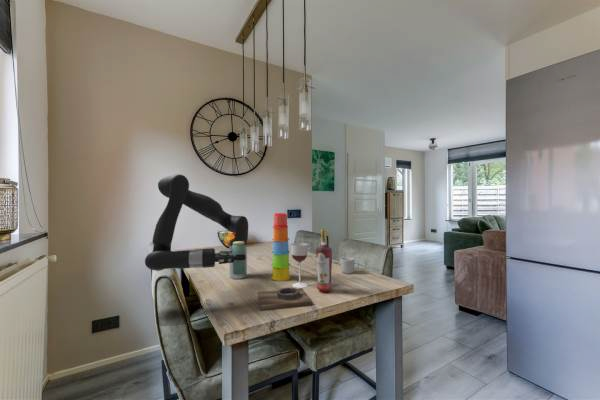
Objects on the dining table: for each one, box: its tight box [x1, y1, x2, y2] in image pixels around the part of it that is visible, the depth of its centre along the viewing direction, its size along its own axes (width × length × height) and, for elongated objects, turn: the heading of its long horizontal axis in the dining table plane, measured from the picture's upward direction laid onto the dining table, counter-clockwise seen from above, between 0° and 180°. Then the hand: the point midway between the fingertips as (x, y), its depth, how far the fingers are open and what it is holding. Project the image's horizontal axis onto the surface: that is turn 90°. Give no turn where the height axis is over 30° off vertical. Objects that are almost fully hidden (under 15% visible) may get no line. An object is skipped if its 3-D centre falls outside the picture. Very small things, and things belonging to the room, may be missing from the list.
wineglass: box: [290, 242, 309, 289], centre depth 130 cm, size 8×9×20 cm
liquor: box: [315, 228, 333, 294], centre depth 122 cm, size 7×7×28 cm
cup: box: [339, 256, 360, 275], centre depth 150 cm, size 11×8×8 cm
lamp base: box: [257, 287, 313, 311], centre depth 111 cm, size 16×20×4 cm
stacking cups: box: [270, 212, 291, 282], centre depth 142 cm, size 10×10×35 cm
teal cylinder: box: [232, 241, 245, 275], centre depth 111 cm, size 5×5×13 cm
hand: (245, 255), depth 111 cm, fingers closed on teal cylinder, 5 cm apart
